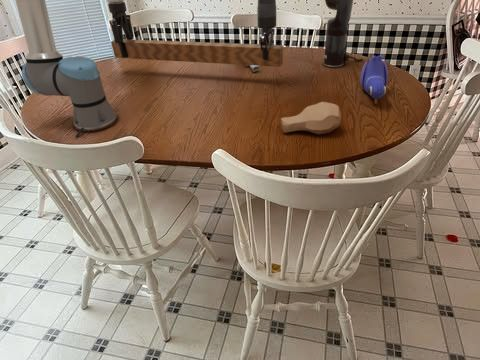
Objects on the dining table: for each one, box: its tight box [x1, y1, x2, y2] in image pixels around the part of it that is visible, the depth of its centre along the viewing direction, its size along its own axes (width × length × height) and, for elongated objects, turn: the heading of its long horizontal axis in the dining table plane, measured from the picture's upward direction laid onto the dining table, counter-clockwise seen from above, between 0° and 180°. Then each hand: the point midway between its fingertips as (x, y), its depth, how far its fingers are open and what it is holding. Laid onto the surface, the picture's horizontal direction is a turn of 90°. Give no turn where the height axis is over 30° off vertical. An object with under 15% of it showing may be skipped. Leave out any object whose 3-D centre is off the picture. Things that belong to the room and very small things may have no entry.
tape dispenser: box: [244, 65, 261, 73], centre depth 175 cm, size 18×5×20 cm
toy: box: [359, 54, 389, 105], centre depth 135 cm, size 10×17×25 cm
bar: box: [110, 38, 284, 68], centre depth 160 cm, size 82×5×8 cm, turn 71°
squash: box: [280, 101, 342, 135], centre depth 117 cm, size 11×20×9 cm, turn 92°
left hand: (128, 55), depth 172 cm, fingers closed on bar, 5 cm apart
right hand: (267, 57), depth 151 cm, fingers closed on bar, 4 cm apart
